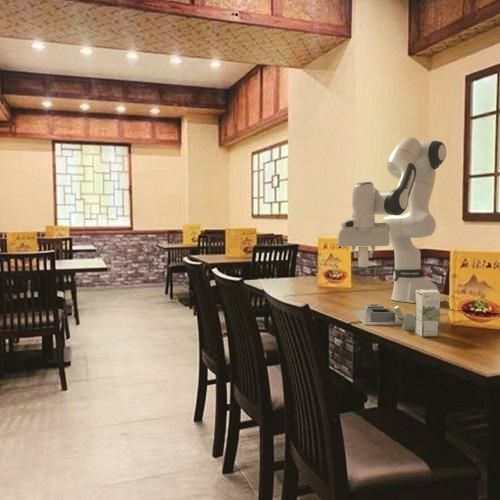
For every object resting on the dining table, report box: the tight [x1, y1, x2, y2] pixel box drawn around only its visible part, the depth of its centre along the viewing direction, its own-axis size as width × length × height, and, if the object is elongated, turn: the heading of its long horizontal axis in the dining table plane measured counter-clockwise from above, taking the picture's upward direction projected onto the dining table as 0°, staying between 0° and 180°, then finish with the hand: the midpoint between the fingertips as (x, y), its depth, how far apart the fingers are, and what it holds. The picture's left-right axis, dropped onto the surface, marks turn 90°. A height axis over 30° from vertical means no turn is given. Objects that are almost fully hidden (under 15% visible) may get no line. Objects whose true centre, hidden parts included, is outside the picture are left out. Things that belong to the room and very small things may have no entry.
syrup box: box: [414, 289, 441, 338], centre depth 156 cm, size 6×6×14 cm
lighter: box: [393, 305, 415, 331], centre depth 164 cm, size 7×2×8 cm, turn 94°
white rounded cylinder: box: [357, 246, 369, 268], centre depth 196 cm, size 4×4×8 cm
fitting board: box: [354, 303, 402, 326], centre depth 182 cm, size 13×22×4 cm, turn 177°
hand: (363, 257), depth 196 cm, fingers closed on white rounded cylinder, 4 cm apart
